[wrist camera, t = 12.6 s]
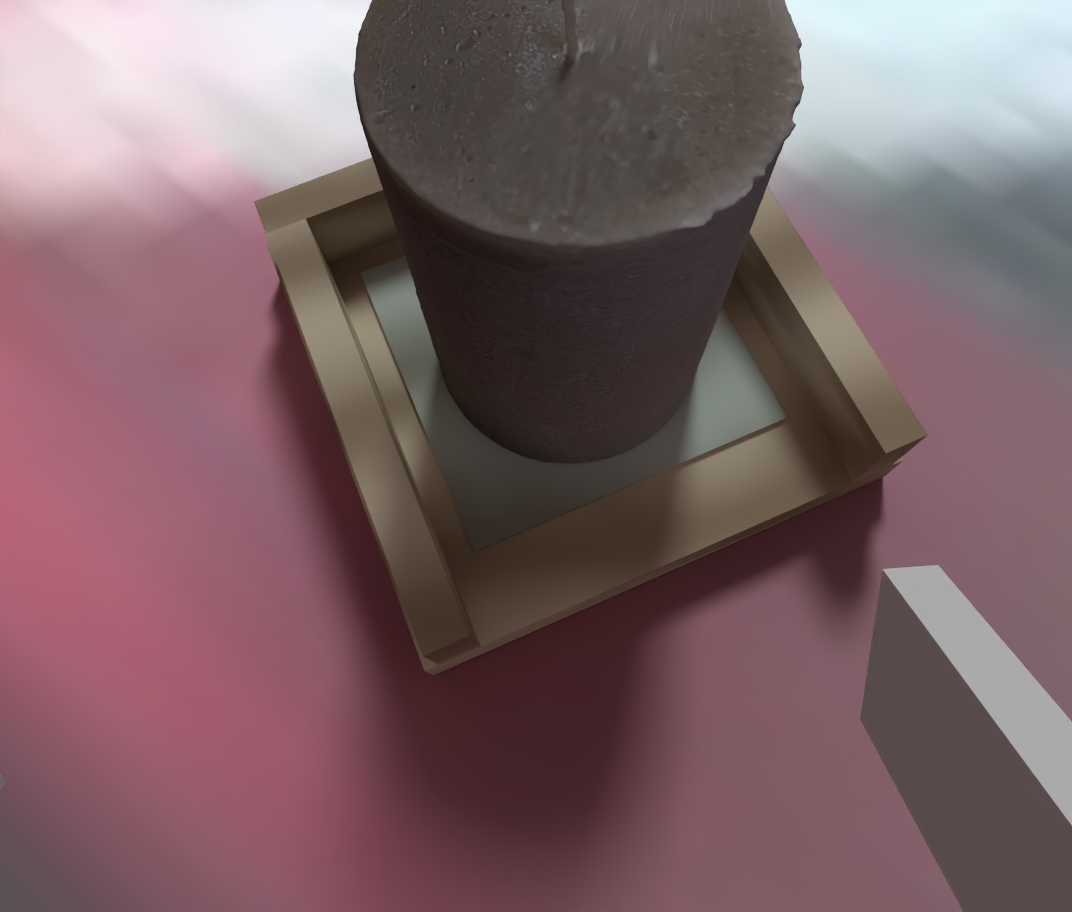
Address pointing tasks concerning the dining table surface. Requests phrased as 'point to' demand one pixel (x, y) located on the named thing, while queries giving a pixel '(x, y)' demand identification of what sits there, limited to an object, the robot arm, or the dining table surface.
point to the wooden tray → (581, 488)
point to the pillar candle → (574, 195)
